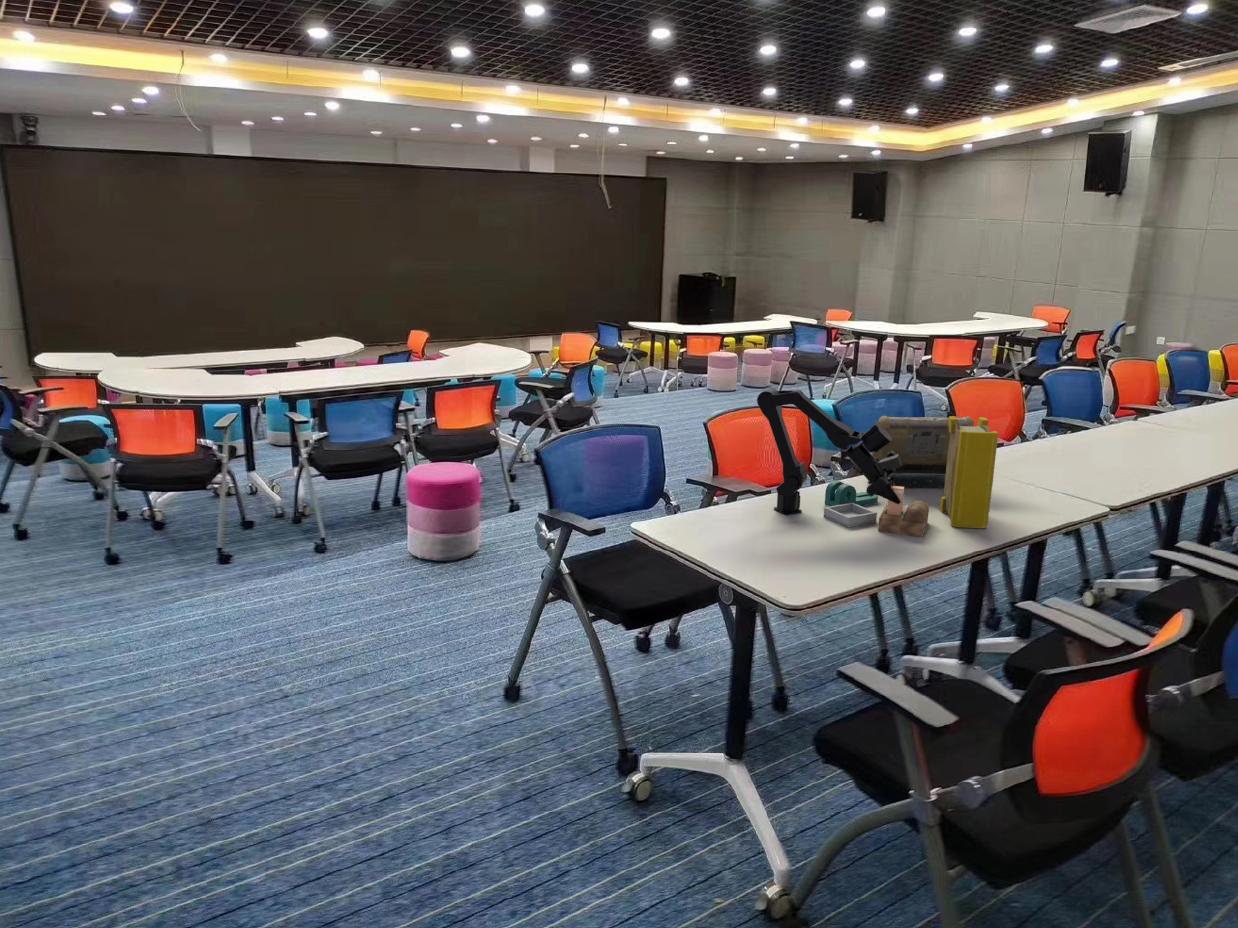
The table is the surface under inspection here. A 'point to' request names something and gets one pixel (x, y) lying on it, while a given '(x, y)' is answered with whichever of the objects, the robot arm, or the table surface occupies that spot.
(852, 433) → the robot arm
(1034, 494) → the table surface
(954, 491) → the decorative book
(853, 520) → the tray
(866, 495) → the bracket
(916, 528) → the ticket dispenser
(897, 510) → the peach block
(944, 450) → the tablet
